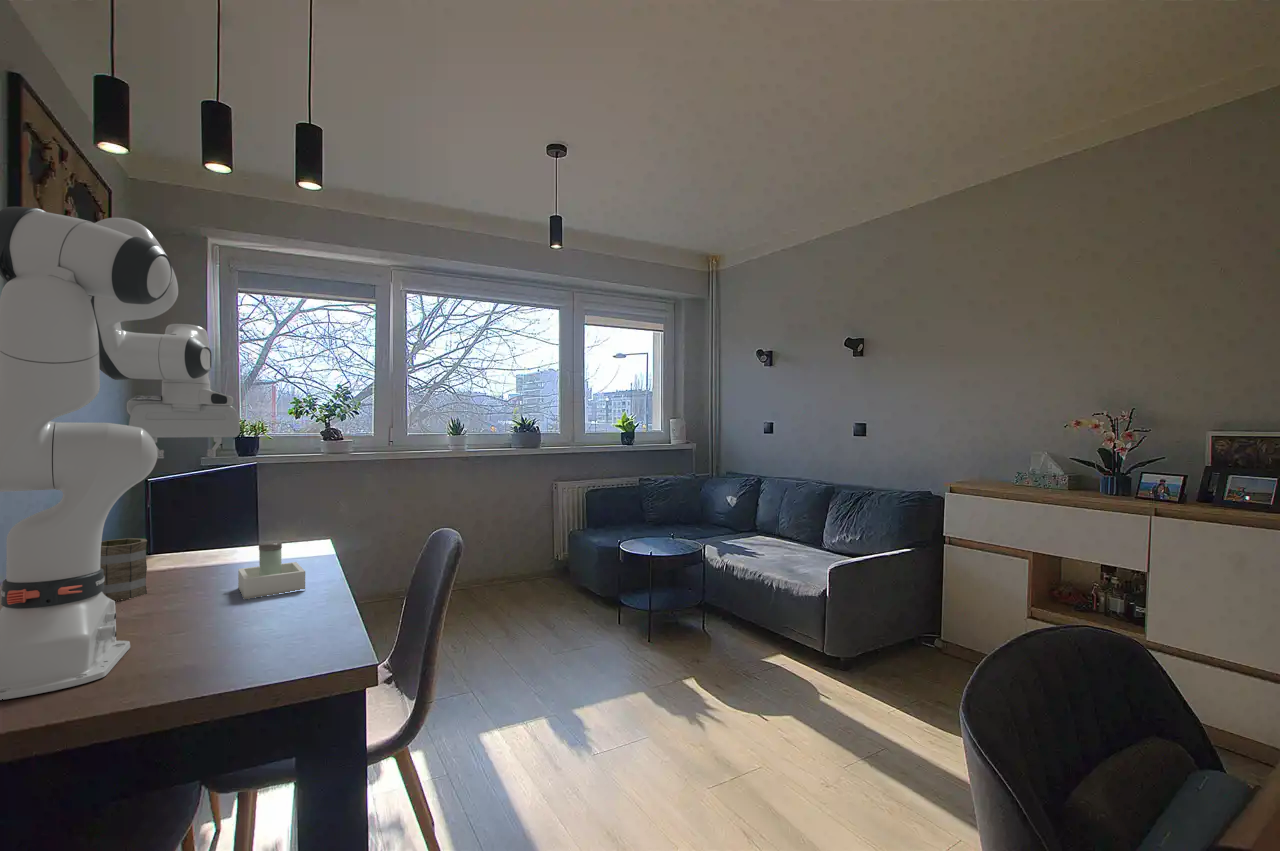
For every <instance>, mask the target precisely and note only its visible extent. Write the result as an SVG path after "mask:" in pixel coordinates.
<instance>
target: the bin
mask: <svg viewBox="0 0 1280 851" xmlns="http://www.w3.org/2000/svg"><path fill="white" fill-rule="evenodd" d="M237 575H238V580H237V581H238V582H237V586H238V587H237V588H239V589H238V591H239V590H240V591H239V593H240V592H241V593H240V595H241V594H242V595H241V597H242V596H243V597H242V599H243V598H244V599H248V600H251V599H250V598H255V597H261V596H267V595H273V594H279V593H285V592H290V591H295V590H300V589H305V590H306V570H305V569H304V568H303V567H302V566H301V565H300V564H299V563H298V562H297V561H292V562H285V563H284V562H283V563H282V573H281V574H273V575H265V576H260V565H258V566H252V567H251V566H250V567H243V568H241V567H240V568H238V573H237ZM261 598H262V597H261ZM244 599H243V600H244ZM255 599H256V598H255Z"/></svg>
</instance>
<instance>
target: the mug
mask: <svg viewBox="0 0 1280 851" xmlns="http://www.w3.org/2000/svg"><path fill="white" fill-rule="evenodd" d="M147 546H148V540H147V538H133V537H130V538H118V539H108V540H107V539H106V540H102V542H101V558H100V568H102V569H103V570H104V577H105V581H104V589H103V591H102V592H103V594H104V595H105V596H107V597H108V598H110V599H112V600H114V601H115V600H121V599H128V600H130V599H129V598H133V599H135V598H134V597H136V598H138V597H137V596H139V597H142V596H144V594H145V595H147V594H148V592H147V572H148V570H147V569H148V566H147V563H148V562H147ZM141 595H142V596H141ZM121 601H122V600H121ZM115 602H116V601H115Z"/></svg>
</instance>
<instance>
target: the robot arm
mask: <svg viewBox="0 0 1280 851" xmlns="http://www.w3.org/2000/svg"><path fill="white" fill-rule="evenodd" d="M0 276H1V278H2V279H3V280H4V281H5V282H6V283H5V284H4V286H3V287H2V290H1V293H0V493H7V492H10V493H11V492H26V491H49V490H50V491H51V490H56V491H61V492H62V498H61V500H60V501H59V502H58V503H57V504H55V505H53V506H51V507H49V508H46V509H44V510H41V511H38V512H36V513H33V514H32V515H30V516H27V517H25V518H23V519H22V520H20V521H18V522H17V523H16V524H14V525H13V526H12V527H11V528H10V530H9V531H8V533H7V535H6V560H5V561H6V568H5V571H6V575H5V576H6V578H5V579H4V580H3V581H2V586H1V589H0V596H1V599H0V605H1V606H2V607H1V608H0V701H3V700H4V701H5V700H9V699H10V700H11V699H17V698H22V697H27V696H34V695H38V694H39V695H40V694H43V693H48V692H55V691H59V690H62V689H67V688H72V687H75V686H76V687H77V686H80V685H83V684H87V683H90V682H93V681H97V680H99V679H102V678H104V677H105V676H107V675H108V674H109V673H110V671H111V670H112V669H113V668H114V667H115V666H116V665H117V664H118V663H119V661H120V660H121V659H122V657H123V656H125V655H126V653H127V652H128V651H129V650H130V649H131V642H130V641H129V640H117V623H116V621H117V620H116V619H117V612H116V601H114V600H112V599H110V598H108V597H107V596H105V595H104V594H103V592H102V591H103V589H104V581H105V577H104V570H103V569H102V568H100V558H101V542H102V541H103V533H104V527H105V523H106V520H107V518H108V515H109V513H110V511H111V510H112V509H113V507H114V505H115V504H116V502H117V501H118V500H119V499H120V498H121V497H122V496H123V495H124V494H125V493H126V492H127V491H129V490H130V489H131V488H132V487H134V486H135V485H137V484H139V483H140V482H142V481H143V480H145V479H146V478H147V477H148V476H149V475H150V474H151V473H152V471H153V470H154V468H155V466H156V465H157V464H156V463H157V461H158V459H164V458H165V455H164V454H165V450H164V449H159V448H158V446H157V445H156V444H157V443H158V438H213V442H214V443H215V444H214V445H213V447H212V448H210V449H207V458H216V456H217V451H216V450H218V448H219V446H220V445H221V444H222V440H223V439H222V438H237V437H238V436H239V435H240V433H241V429H240V428H241V426H240V419H239V415H238V411H237V410H236V408H235V407H234V406H232V405H233V404H234V397H233V396H231V395H228V394H225V393H221V392H219V391H214V390H212V389H211V381H210V377H209V374H210V373H209V372H210V371H211V370H212V350H211V348H210V341H209V335H208V332H207V330H206V329H205V328H203V327H201V326H200V325H196V324H192V323H184V322H178V323H176V322H174V323H170V324H168V325H167V326H166V327H165V332H164V334H162V333H161V334H160V333H144V332H133V331H128V330H127V331H126V330H124V329H122V325H121V323H122V322H127V321H128V322H129V321H130V322H131V321H139V320H141V321H142V320H148V319H153V318H156V317H158V316H161V315H162V314H164V313H166V312H168V311H169V309H171V308H172V307H173V306H174V304H175V303H176V301H177V299H178V296H179V284H178V279H177V276H176V273H175V270H174V268H173V266H172V263H171V260H170V258H169V256H168V255H167V253H166V252H165V250H164V249H163V247H162V245H161V244H160V242H159V241H158V240H157V238H156V237H155V236H154V235H153V233H152V232H151V231H150V230H149V229H148V228H147V227H146V226H144V225H143V224H141V223H140V222H139V221H136V220H134V219H129V218H123V217H108V218H107V217H106V218H104V219H100V220H99V221H96V222H93V221H90V220H85V219H82V218H78V217H73V216H69V215H64V214H60V213H59V214H57V213H54V212H47V211H45V210H43V209H41V208H37V207H36V208H35V207H26V206H6V207H4V208H2V209H1V210H0ZM100 371H101V372H102V373H103V374H104V375H106V376H108V377H109V378H110V379H112V380H113V381H122V380H124V381H126V380H161V395H135V396H134V397H130V398H129V399H128V400H127V401H126V404H125V405H126V406H125V408H126V410H125V411H126V413H127V414H128V415H129V416H130V417H129V421H128V425H127V424H119V423H113V422H68V421H67V422H63V421H62V422H58V421H57V422H56V421H54V419H56V418H58V417H61V416H64V415H67V414H70V413H73V412H76V411H79V410H80V409H82V408H84V407H86V406H87V405H89V404H90V403H91V402H92V401H94V400H95V398H96V397H98V396H97V395H98V394H99V392H100V389H101V388H100V387H101V385H100V384H101V383H100V382H101V381H100V380H101V378H100V373H101V372H100ZM52 420H53V421H52ZM2 699H3V700H2Z"/></svg>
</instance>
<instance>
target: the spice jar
mask: <svg viewBox="0 0 1280 851" xmlns="http://www.w3.org/2000/svg"><path fill="white" fill-rule="evenodd" d="M282 548H283V543H282V542H281V541H266V542H261V543H259V544H258V551H259V554H258V555H259V556H258V557H259V560H258V562H259V565H258V566H260V576H265V575H273V574H281V573H282V564H283V563H282V562H283V561H282Z"/></svg>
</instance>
